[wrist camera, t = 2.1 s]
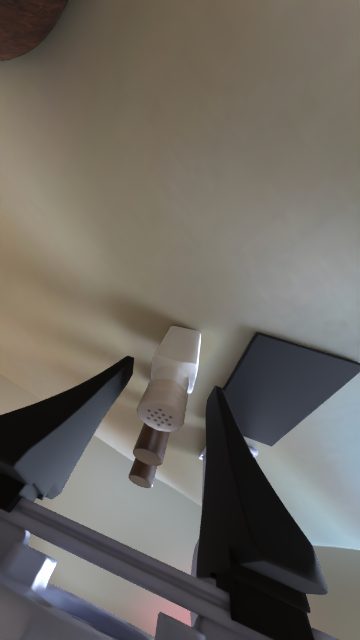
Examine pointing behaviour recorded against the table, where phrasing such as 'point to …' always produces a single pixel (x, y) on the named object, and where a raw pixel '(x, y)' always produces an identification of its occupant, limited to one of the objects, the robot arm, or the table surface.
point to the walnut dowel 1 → (151, 445)
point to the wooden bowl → (26, 24)
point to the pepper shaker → (171, 380)
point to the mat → (282, 386)
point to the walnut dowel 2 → (142, 474)
